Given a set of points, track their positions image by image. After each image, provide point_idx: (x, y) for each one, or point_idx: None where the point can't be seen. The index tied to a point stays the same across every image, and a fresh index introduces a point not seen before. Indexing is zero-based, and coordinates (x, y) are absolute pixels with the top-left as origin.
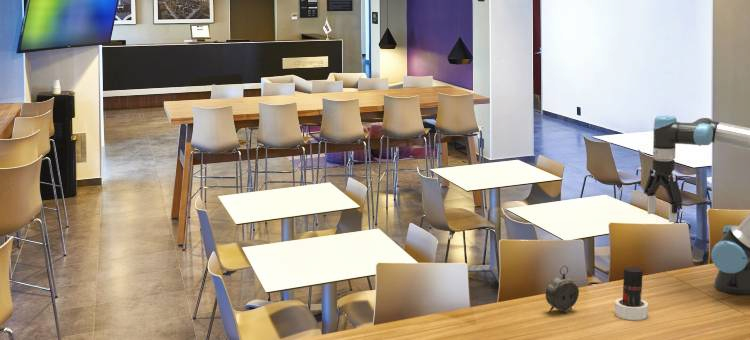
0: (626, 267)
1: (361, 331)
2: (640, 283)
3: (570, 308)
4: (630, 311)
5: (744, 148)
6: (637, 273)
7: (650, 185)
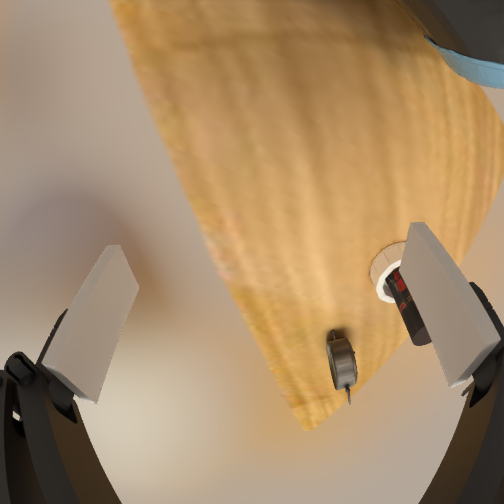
0: (414, 341)
1: (309, 429)
2: None
3: (333, 332)
4: None
5: None
6: None
7: (32, 469)
